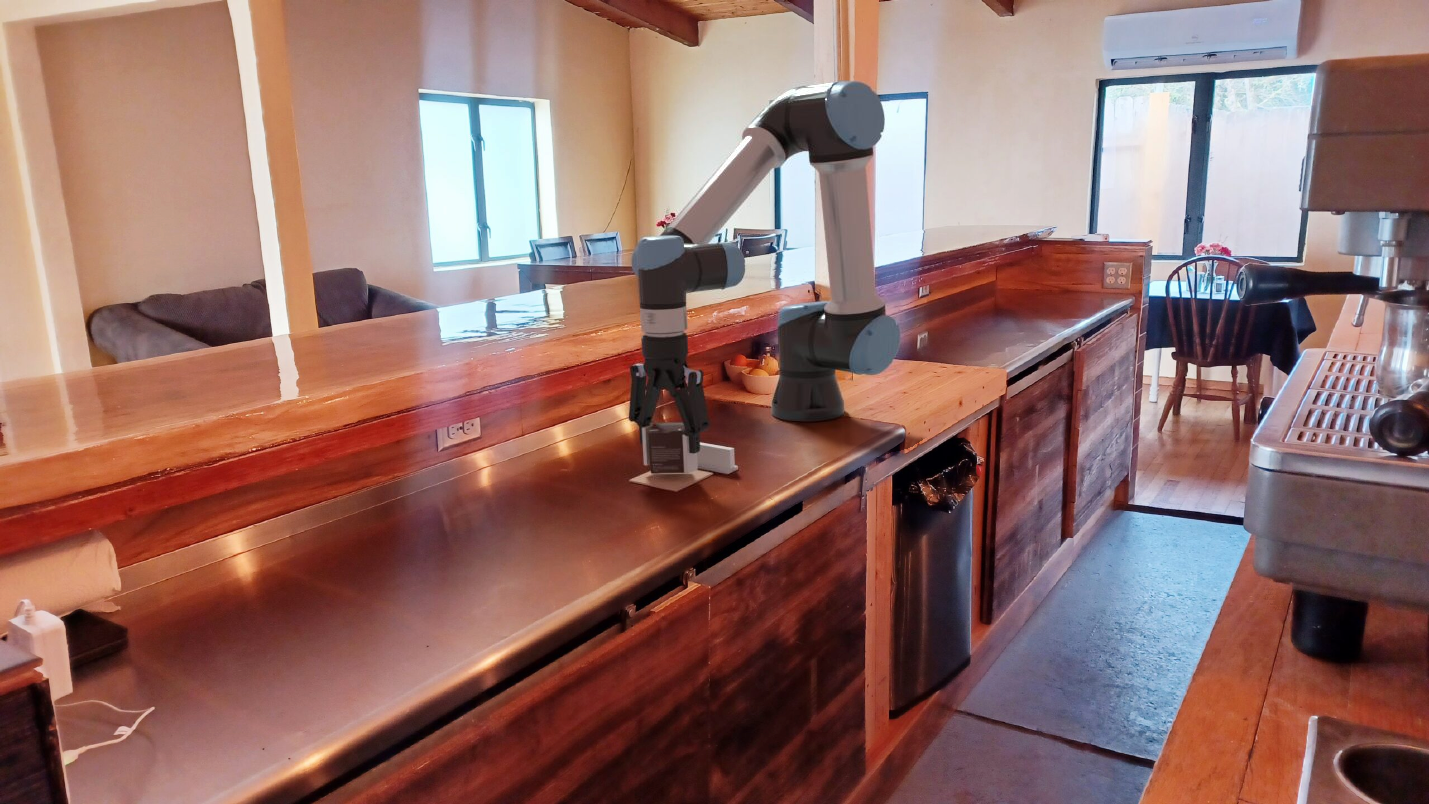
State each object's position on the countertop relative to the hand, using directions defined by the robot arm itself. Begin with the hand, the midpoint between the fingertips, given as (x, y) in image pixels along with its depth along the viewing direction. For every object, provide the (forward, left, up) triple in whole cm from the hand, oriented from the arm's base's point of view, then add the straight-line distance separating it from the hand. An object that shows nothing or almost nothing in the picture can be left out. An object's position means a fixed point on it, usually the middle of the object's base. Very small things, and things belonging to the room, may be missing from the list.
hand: (670, 466), depth 158 cm
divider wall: (-8, +1, -2) cm, 8 cm away
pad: (0, 0, -2) cm, 2 cm away
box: (0, 0, -1) cm, 1 cm away
